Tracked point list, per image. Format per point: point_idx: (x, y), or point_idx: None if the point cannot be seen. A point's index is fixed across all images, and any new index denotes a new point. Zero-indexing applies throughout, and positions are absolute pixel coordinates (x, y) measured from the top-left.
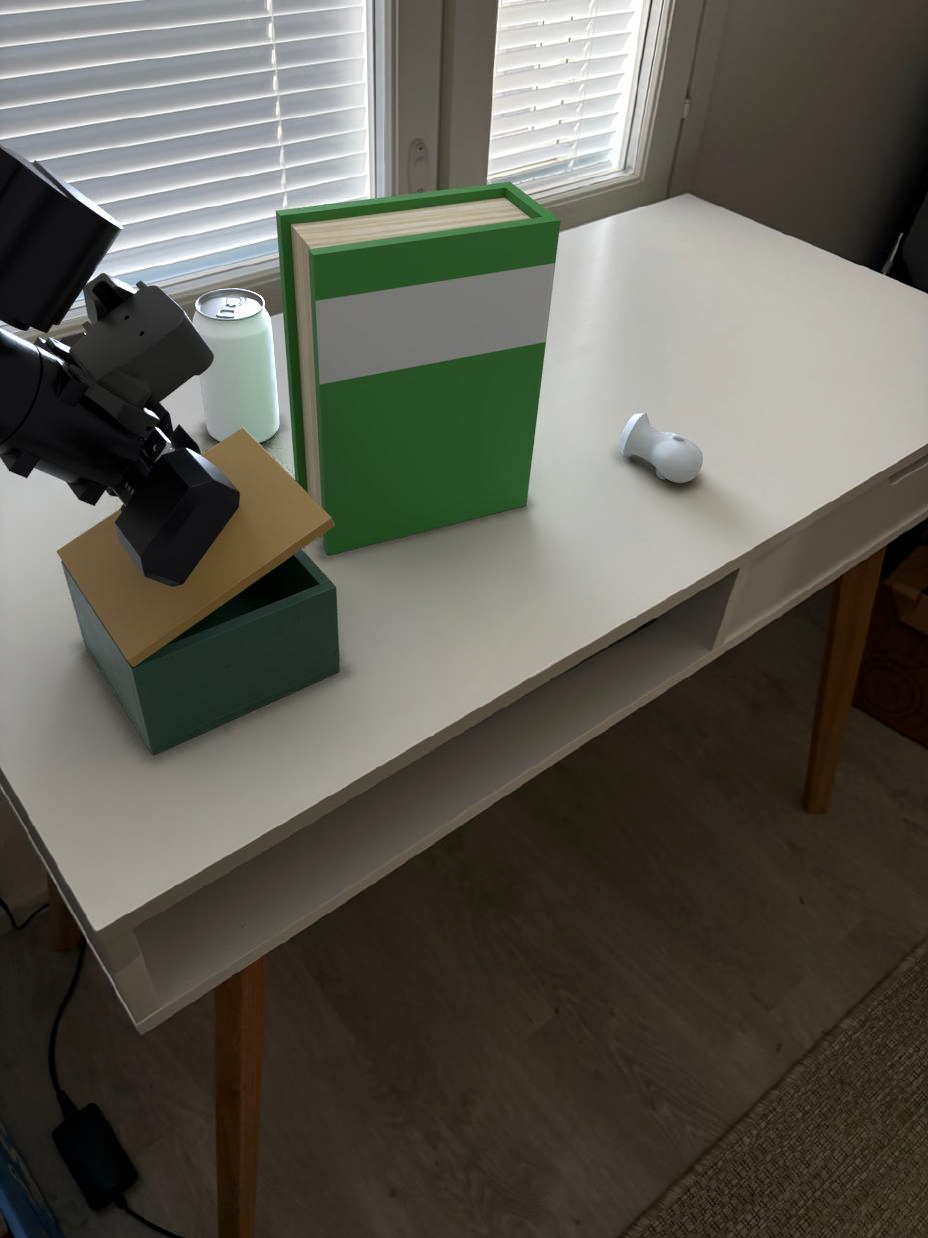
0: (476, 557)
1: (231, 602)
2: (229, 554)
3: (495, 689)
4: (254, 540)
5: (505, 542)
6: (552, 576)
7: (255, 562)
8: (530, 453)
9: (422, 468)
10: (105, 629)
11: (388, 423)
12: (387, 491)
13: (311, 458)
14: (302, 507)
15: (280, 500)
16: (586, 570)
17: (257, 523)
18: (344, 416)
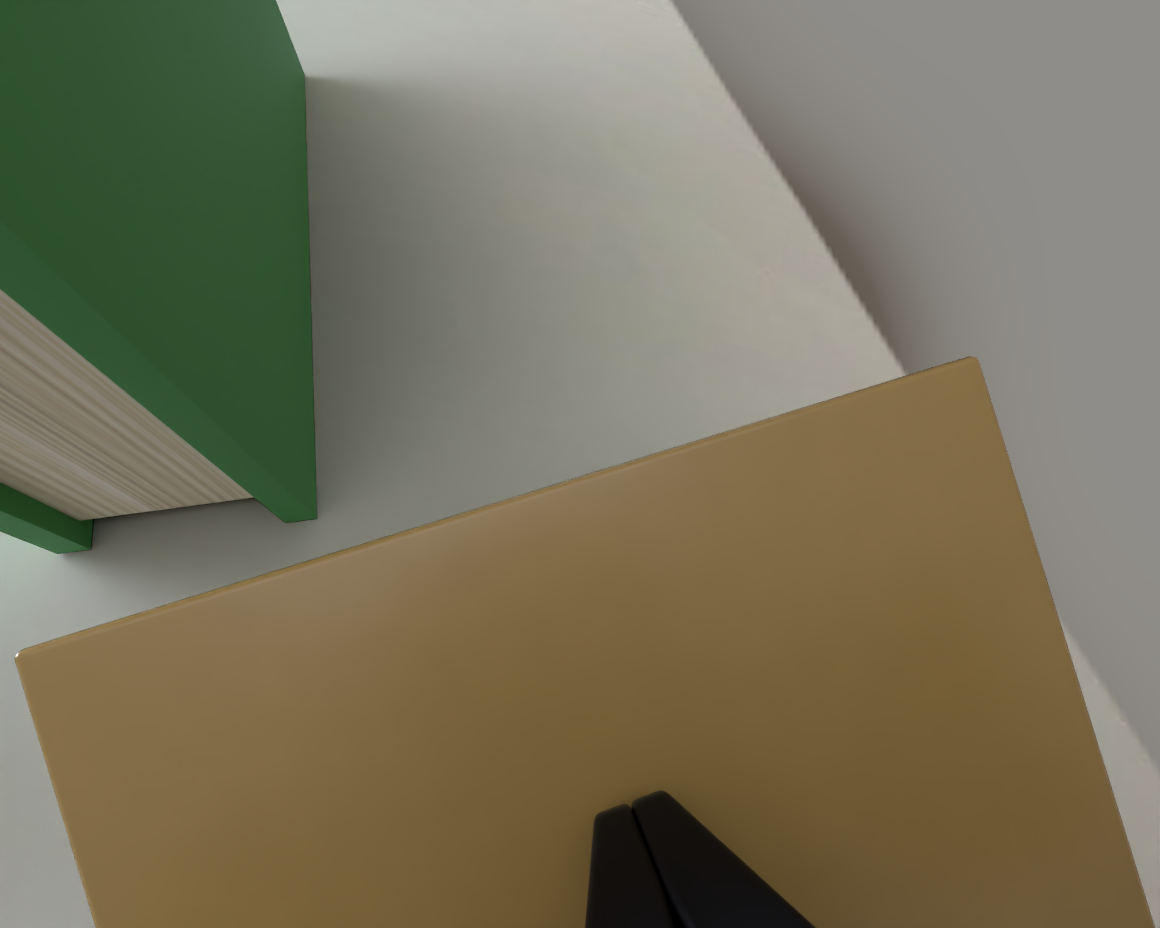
0: (439, 210)
1: None
2: (961, 891)
3: (844, 288)
4: (937, 750)
5: (410, 146)
6: (544, 101)
7: (1064, 769)
8: None
9: (235, 156)
10: None
11: (130, 92)
12: (254, 282)
13: (14, 445)
14: (845, 470)
15: (746, 565)
16: (544, 44)
17: (835, 714)
18: (72, 185)
